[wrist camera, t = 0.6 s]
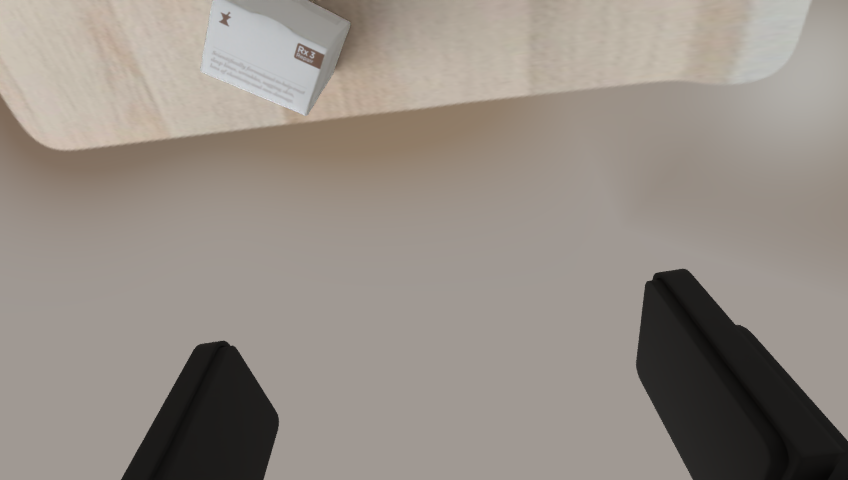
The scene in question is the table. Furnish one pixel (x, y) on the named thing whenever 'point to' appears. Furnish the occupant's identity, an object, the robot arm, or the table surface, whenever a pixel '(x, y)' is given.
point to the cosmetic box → (274, 48)
